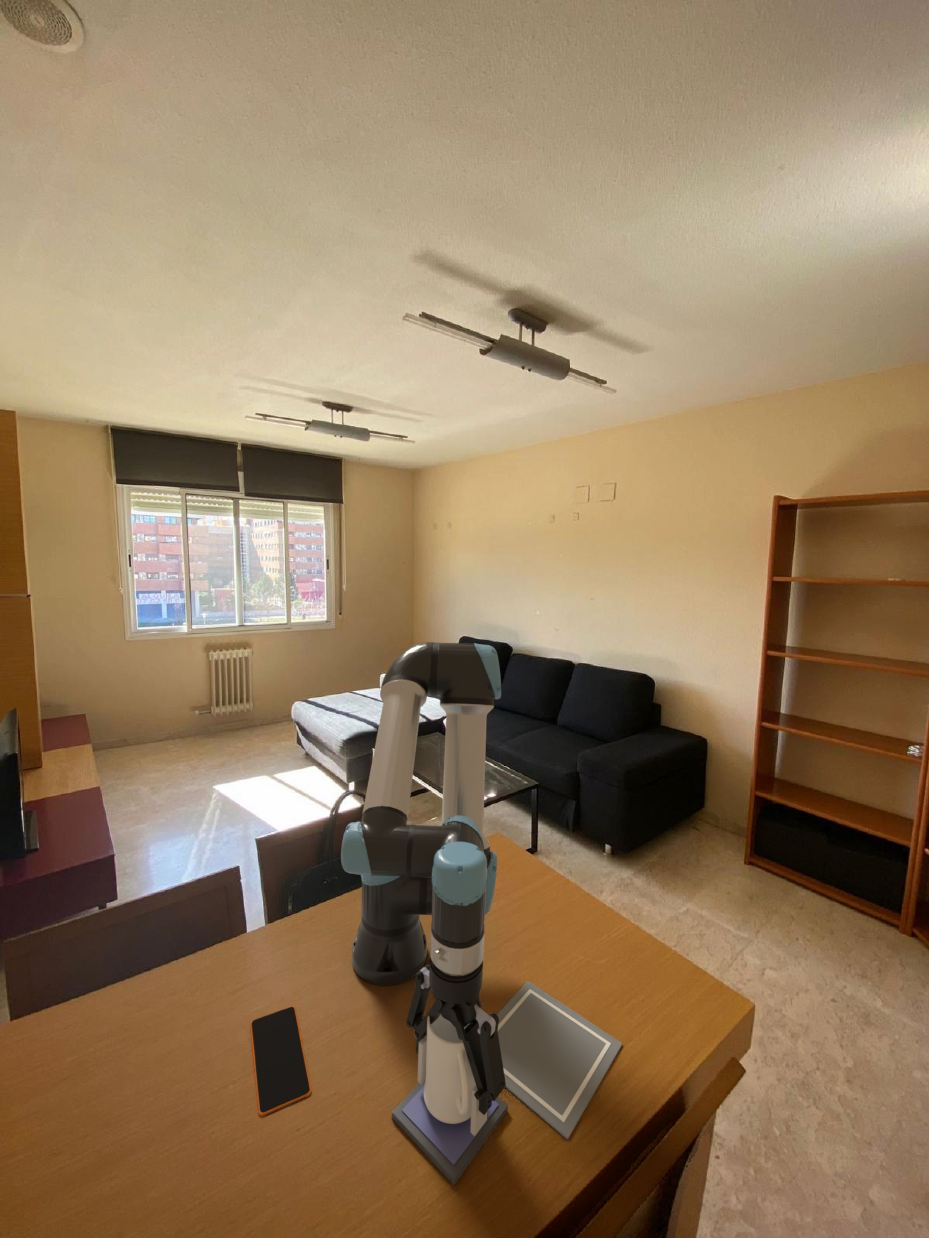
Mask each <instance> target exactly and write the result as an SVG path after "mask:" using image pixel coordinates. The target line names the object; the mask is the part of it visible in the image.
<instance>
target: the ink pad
mask: <svg viewBox="0 0 929 1238" xmlns="http://www.w3.org/2000/svg"><path fill="white" fill-rule="evenodd" d="M425 1081H426V1080H425ZM425 1081H424V1082H423V1083H422V1084H420V1083H419V1082H417V1084H416V1085H415V1087H413V1089H412V1090H410V1092H409V1093H408V1094H406V1096H405V1097H404V1098H403V1099H402V1100H401V1101H400V1103H399V1104H398V1105H397V1106H396V1107H395V1108H394V1109H393V1110H392V1111H391V1118H392V1120H393V1121H394V1122H395V1123H396V1124H397V1126H398V1127H400V1129H401V1130H403V1132H404V1133H405V1134H406V1135H407V1137H409V1139H411V1140H412V1142H413V1143H414V1145H416V1146H417V1147H418V1148H419V1149H420V1150H421V1152H422V1153H423V1154H424V1155H425V1156H426V1157H427V1158H428V1159H429V1160H430V1161H431V1162H432V1164H434V1166H435V1167H436V1168H437V1169H438V1170H439V1171H440V1172H441V1173H442V1174H443V1175H444V1176H445V1177H446V1179H447V1180H448V1181H449V1182H450V1183H451V1184H452V1185H453V1186H455V1185H456V1184H457V1183H458V1181H459V1180H460V1179H461V1177H462V1176H463V1175H464V1173H465V1171H466V1170H467V1169H468V1167H469V1166H470V1164H471V1163H472V1161H473V1160H475V1159H474V1158H475V1157H476V1156H477V1155H478V1153H479V1152H480V1151H481V1149H482V1148H483V1146H484V1145H485V1143H486V1142H487V1141H488V1140H489V1138H490V1136H491V1135H492V1134H493V1132H494V1131H495V1130H496V1129H497V1127H498V1125H499V1124H500V1123H501V1121H502V1120H503V1118H504V1117H505V1115H506V1114H507V1113H508V1112H509V1104H508V1103H506V1102H505V1101H504V1099H502V1098H501V1097H500V1096H498V1097H497V1098H496V1100H495V1101H492V1105H491V1107H490V1108H489V1110H488V1111H487V1121H486V1122H485V1123H484V1125H483V1126H482V1127H481V1129H480V1130H479V1131H478V1133H477V1134H476V1135H475V1136H474V1135H473V1134H472V1133H471V1132H470V1129H471V1117H470V1118H469V1119H468V1120H466V1121H464V1122H461V1123H457V1124H449V1123H444V1122H442V1121H440V1120H438V1119H436V1118H435V1117H434V1116H433V1115H432V1114H431V1113H430V1112H429V1110H428V1108H427V1106H426V1104H425V1101H424V1085H425Z"/></svg>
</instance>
